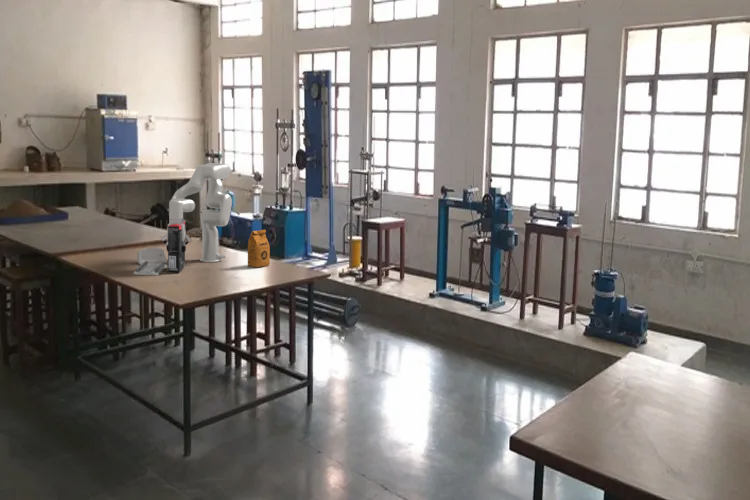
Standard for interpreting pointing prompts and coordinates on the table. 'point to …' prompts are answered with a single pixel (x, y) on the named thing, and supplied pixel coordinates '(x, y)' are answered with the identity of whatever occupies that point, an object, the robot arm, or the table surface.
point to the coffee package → (258, 249)
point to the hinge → (151, 256)
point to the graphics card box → (175, 249)
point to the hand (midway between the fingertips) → (176, 252)
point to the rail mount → (150, 268)
